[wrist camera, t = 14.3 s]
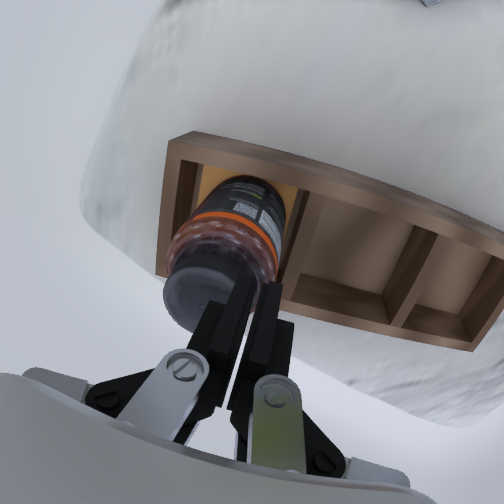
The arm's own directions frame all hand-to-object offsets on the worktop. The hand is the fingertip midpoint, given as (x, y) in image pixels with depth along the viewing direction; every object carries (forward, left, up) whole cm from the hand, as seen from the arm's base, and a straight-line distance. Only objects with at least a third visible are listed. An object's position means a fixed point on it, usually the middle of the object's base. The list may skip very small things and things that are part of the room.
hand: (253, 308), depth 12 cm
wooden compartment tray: (-7, +2, -13) cm, 15 cm away
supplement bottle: (+2, +2, -13) cm, 13 cm away
